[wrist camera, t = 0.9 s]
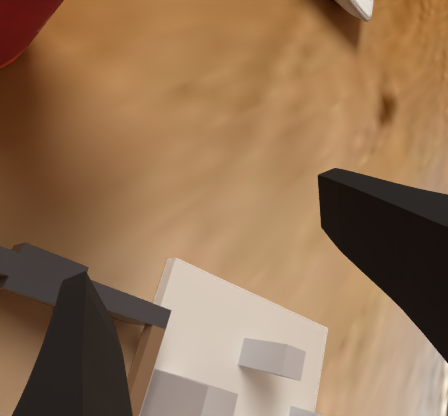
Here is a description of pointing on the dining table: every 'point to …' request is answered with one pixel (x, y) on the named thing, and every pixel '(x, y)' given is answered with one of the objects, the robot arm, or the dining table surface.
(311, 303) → the dining table surface
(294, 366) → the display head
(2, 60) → the paper cup
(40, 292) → the glasses
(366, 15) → the square plate
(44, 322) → the dining table surface
